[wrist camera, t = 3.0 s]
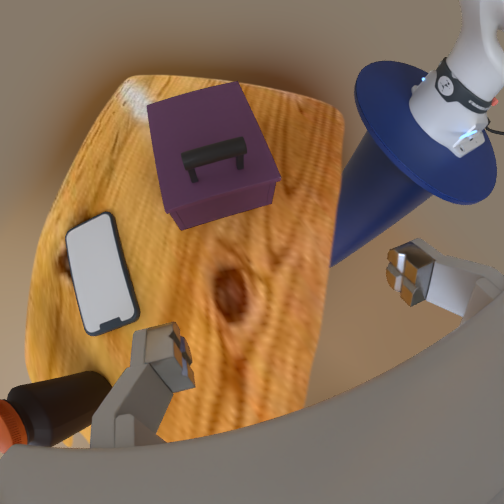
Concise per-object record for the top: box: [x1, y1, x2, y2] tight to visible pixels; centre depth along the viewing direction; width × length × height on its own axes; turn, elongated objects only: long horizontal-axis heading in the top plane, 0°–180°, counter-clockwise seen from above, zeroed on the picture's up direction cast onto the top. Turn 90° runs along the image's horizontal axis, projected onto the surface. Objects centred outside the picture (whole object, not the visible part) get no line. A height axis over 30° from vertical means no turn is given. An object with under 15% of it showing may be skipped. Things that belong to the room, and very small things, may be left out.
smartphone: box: [65, 212, 140, 336], centre depth 34 cm, size 9×2×16 cm
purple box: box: [170, 182, 276, 230], centre depth 35 cm, size 16×13×8 cm
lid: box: [147, 81, 281, 214], centre depth 28 cm, size 16×13×6 cm
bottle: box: [0, 371, 112, 454], centre depth 21 cm, size 7×7×20 cm
